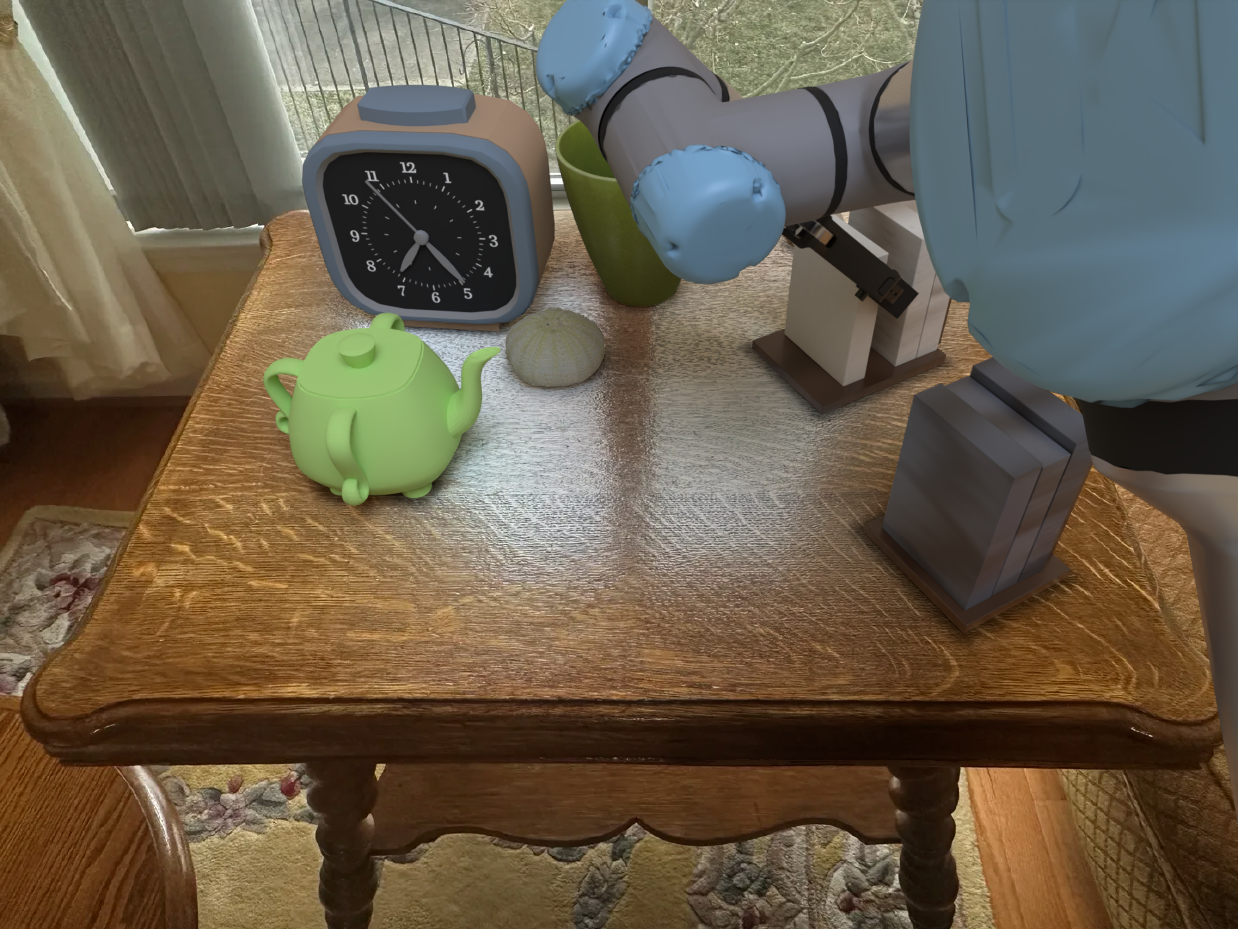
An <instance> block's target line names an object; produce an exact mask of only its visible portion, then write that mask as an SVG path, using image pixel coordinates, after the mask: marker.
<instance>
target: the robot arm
mask: <svg viewBox="0 0 1238 929" xmlns="http://www.w3.org/2000/svg"><path fill="white" fill-rule="evenodd" d="M915 37H916V38H915V42H914V50H913V59H911V60H907V61H904V62H901V63H899V64H897V65H893V66H892V67H889V68H886V69H883V70H880V71H877V72H874V73H869V74H865V75H860V76H856V77H851V78H847V79H842V80H838V81H833V82H828V83H824V84H818V85H814V86H810V85H809V86H803V87H798V88H794V89H789V90H783V91H778V92H772V93H766V94H761V95H756V96H750V97H745V98H744V97H743V95H741V94H740V93H739V92H738V91H737V90H735V88H734V87H733V86H731V85H730V84H729V83H728V82H727V81H726V80H725V79H724V78H723V77H721V76H720V75H719V74H717V73H715V72H713V71H712V70H711V69H710V68H709V67H707V65H706V64H704V63H703V62H702V61H701V60H700V59H699V58H698V57H697V56H696V55H695V54H694V53H693V52H692V51H690V49H689V48H687V47H686V46H685V45H684V43H683V42H681V41H680V40H679V38H677V37H676V36H675V35H674V34H673V33H672V32H671V31H670V30H669V29H668V28H667V27H666V26H664V24H662V23H661V21H659V20H658V19H657V18H656V17H655V16H654V14H653V12H652V10H651V9H650V8H649V7H648V6H647V5H642V4H641V3H640V2H638V1H637V0H565V1H564V2H563V4H562V5H561V6H560V8H559V9H558V10H557V11H556V13H555V14H554V15H552V17H551V18H550V19H549V22H548V23H547V25H546V27H545V28H544V31H543V33H542V35H541V37H540V41H539V44H538V47H537V52H536V56H535V76H536V79H537V83H538V85H539V87H540V89H541V90H542V91H543V93H545V94H546V95H547V97H549V99H551V100H552V101H554V102H555V103H556V104H557V105H558V106H559V107H560V108H561V110H562V112H563V113H564V114H565V115H567V116H570V117H574V118H575V119H576V120H580V121H581V122H582V123H583V124H584V125H585V126H586V127H587V129H588V130H589V131H590V133H591V135H592V137H593V139H594V141H595V143H596V144H597V146H598V148H599V150H600V152H601V154H602V155H603V157H604V159H605V160H606V162H607V163H608V164H609V166H610V168H611V170H612V173H613V175H614V177H615V179H616V181H617V183H618V185H619V187H620V189H621V191H622V193H623V195H624V197H625V199H626V201H627V203H628V205H629V207H630V209H631V211H632V216H633V219H634V221H636V223H637V226H638V228H639V230H640V231H641V232H642V234H643V235H644V237H646V238H647V239H648V240H649V242H650V243H651V245H652V247H653V248H654V250H655V251H656V253H657V254H658V256H659V258H660V259H661V261H662V262H663V264H664V265H665V267H666V268H667V269H668V270H669V271H671V272H672V273H673V274H674V275H676V276H677V277H679V278H681V280H683V281H685V282H688V283H691V284H695V285H696V284H698V285H715V284H722V283H725V282H726V283H727V282H729V281H732V280H735V279H737V278H738V277H739V275H740V273H741V272H742V271H744V270H746V269H747V268H749V267H751V268H753V267H755V268H756V267H757V266H758V265H759V264H762V262H763V261H764V260H765V259H767V257H768V256H769V255H770V254H771V253H772V251H773V250H774V249H775V248H776V246H777V244H778V242H779V241H780V239H781V237H782V236H783V237H784V238H786V239H787V241H788V240H789V242H790V241H791V242H792V243H793V244H795V245H796V246H797V247H798V248H800V249H804V248H811V249H812V250H813V251H815V252H816V253H817V254H818V255H820V256H821V257H822V258H823V259H825V260H826V261H827V262H829V263H830V264H831V265H832V266H834V267H835V268H836V269H837V270H839V271H840V272H841V273H843V274H844V275H845V276H846V277H848V278H849V279H850V280H851V281H853V282H854V283H855V284H857V285H856V287H857V288H858V289H859V290H858V291H857V292H856V293H855V296H856V297H857V298H858V299H860V300H861V301H862V302H863V301H864V300H865V299H866V297H867V296H869V297H870V298H871V299H872V300H874V301H875V302H876V303H877V304H879V305H880V306H881V307H883V308H884V309H885V310H886V311H888V312H889V313H890V314H891V315H893V316H894V317H895V318H897V319H898V318H899V317H900V315H901V314H902V313H903V312H904V311H905V309H906V308H907V307H908V306H909V305H910V304H911V302H912V301H913V300H914V299H915V298H916V296H917V295H918V294H919V293H918V292H917V291H916V290H915V289H913V288H912V287H911V286H910V285H909V284H908V283H906V282H905V281H904V280H903V279H902V278H901V277H900V275H899V273H898V272H897V271H896V270H895V269H891V268H890V267H888V266H887V264H885V263H884V262H883V261H881V260H880V259H879V258H877V257H876V256H875V255H874V254H873V253H871V252H870V251H869V250H868V249H867V248H865V247H864V246H863V245H862V244H861V243H859V242H858V241H857V240H856V239H855V238H853V237H852V236H851V235H850V234H849V233H847V232H846V231H845V230H844V229H843V228H842V227H840V226H839V225H838V224H837V223H836V222H835V221H834V220H832V216H831V215H834V214H839V213H841V214H845V213H848V212H849V213H850V211H854V210H859V209H865V208H870V207H875V206H880V205H885V204H890V203H896V202H903V201H911V200H916V205H917V210H918V215H919V220H920V224H921V228H922V231H923V235H924V239H925V243H926V247H927V250H928V253H929V256H930V259H931V262H932V265H933V268H934V270H935V272H936V274H937V276H938V278H939V281H940V283H941V285H942V287H943V289H944V291H945V293H946V294H947V295H948V296H949V297H950V298H951V299H952V300H953V301H955V302H956V303H969V306H968V307H969V308H968V314H967V328H968V333H969V334H970V335H971V336H972V338H973V339H974V340H975V341H976V342H977V343H978V345H980V347H981V348H982V349H983V350H984V351H986V352H987V354H988V355H990V356H991V357H993V358H994V359H995V360H997V361H998V362H999V363H1000V364H1001V365H1002V366H1004V367H1005V368H1006V369H1008V370H1009V371H1011V372H1012V373H1014V374H1015V375H1016V376H1018V377H1020V378H1022V379H1024V380H1026V381H1028V382H1030V383H1032V384H1034V385H1036V386H1037V387H1039V388H1042V389H1045V390H1048V391H1050V392H1052V393H1053V394H1056V395H1060V396H1065V397H1070V398H1074V399H1077V400H1079V404H1080V408H1081V414H1082V415H1083V420H1084V425H1085V431H1086V436H1087V441H1088V447H1089V452H1090V456H1091V460H1092V463H1093V467H1094V470H1096V471H1097V472H1098V473H1099V474H1101V475H1103V477H1106V478H1107V479H1109V480H1110V481H1112V482H1113V483H1115V484H1116V485H1118V486H1120V487H1121V488H1123V489H1124V490H1126V491H1128V492H1129V493H1131V494H1132V495H1134V496H1135V497H1137V498H1138V499H1139V500H1142V501H1143V502H1144V503H1146V504H1148V505H1149V506H1150V507H1152V508H1154V509H1155V510H1156V511H1159V512H1160V513H1162V514H1163V515H1165V516H1166V517H1168V518H1169V519H1171V520H1173V522H1176V523H1177V524H1178V525H1179V526H1180V528H1181V529H1182V531H1183V532H1184V533H1185V534H1186V538H1187V545H1188V549H1189V555H1190V560H1191V567H1192V571H1193V572H1192V573H1193V577H1194V583H1195V590H1196V594H1197V600H1198V606H1199V612H1200V618H1201V623H1202V628H1203V634H1204V640H1205V645H1206V651H1207V656H1208V662H1209V667H1210V668H1209V669H1210V674H1211V679H1212V686H1213V691H1214V695H1215V696H1214V697H1215V704H1216V708H1217V713H1218V719H1219V724H1220V731H1221V734H1222V735H1221V736H1222V742H1223V749H1224V754H1225V759H1226V764H1227V770H1228V775H1229V782H1230V786H1231V792H1232V798H1233V804H1234V809H1235V816H1236V820H1237V822H1238V0H922V4H921V8H920V14H919V20H918V25H917V30H916V36H915ZM800 226H801V227H802V230H801V231H800V232H799V233H798V234H797V235H795V234H796V230H797V229H799V228H800ZM791 242H790V243H791ZM792 243H791V244H792ZM793 244H792V245H793Z"/></svg>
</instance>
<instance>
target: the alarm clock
mask: <svg viewBox="0 0 1238 929" xmlns="http://www.w3.org/2000/svg"><path fill="white" fill-rule="evenodd" d="M548 154H549V153H548V149H547V144H546V141H545V138H544V135H543V133H542V131H541V129H540V127H539V124H538V123H537V122H536V121H535V120H534V118H533V117H532V115H531V114H530V113H529V112H528V111H527V110H525V108H522V107H521V106H519V105H518V104H517V103H515V102H513V101H512V100H510V99H506V98H501V97H495V96H491V95H485V94H479V93H475V92H474V91H472V89H468V88H463V87H456V86H448V85H440V84H439V85H437V84H436V85H435V84H394V85H393V84H391V85H382V86H372V87H371V86H370V87H369V88H368V90H367V91H366V92H365V94H362V95H357V96H356V97H354V98H353V99H352V100H351V101H349V102H347V103H346V104H345V105H344V106H343V108H342V109H341V110H340V111H339V113H338V114H337V115H336V117H334V119H333V120H332V121H331V123H330V124H329V125H328V127H327V128H326V129H325V130H324V131H323V133H322V134H321V135H320V137H319V138H318V139H317V140H316V141H315V143H314V144H313V145H312V146H311V148H310V149H309V151H308V153H307V155H306V156H305V158H304V161H303V163H302V169H301V170H302V172H301V185H302V190H303V195H304V199H305V202H306V207H307V209H308V213H309V215H310V220H311V223H312V226H313V230H314V233H315V236H316V239H317V242H318V246H319V249H320V253H321V256H322V259H323V262H324V265H325V269H326V270H327V273H328V276H329V278H330V280H331V282H332V284H333V285H334V286H335V288H336V289H337V291H338V292H339V294H340V295H341V296H342V297H343V298H344V299H345V300H346V301H347V302H348V303H349V304H350V305H352V306H353V307H355V308H357V309H359V310H361V311H363V312H364V313H366V314H368V315H373V316H377V315H379V314H381V313H393V314H397V315H398V316H400V317H401V319H402V320H403V323H404V327H417V328H430V329H449V330H464V331H465V330H466V331H467V330H468V331H485V332H501V329H502V326H503V323H510V322H512V321H514V320H516V319H518V318H520V317H521V316H523V315H525V314H526V312H527V311H528V310H529V309H530V307H531V306H532V305H533V303H534V301H535V299H536V295H537V292H538V290H539V287H540V283H541V281H542V278H543V275H544V273H545V271H546V270H545V269H546V267H547V264H548V261H549V258H550V255H551V253H552V250H553V246H554V243H555V238H556V237H555V236H556V224H555V213H554V212H555V211H554V202H553V192H552V182H551V181H552V180H551V172H550V171H551V170H550V160H549V155H548Z"/></svg>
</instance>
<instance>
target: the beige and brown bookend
mask: <svg viewBox="0 0 1238 929" xmlns="http://www.w3.org/2000/svg"><path fill="white" fill-rule="evenodd" d="M847 224H848V225H850V226H851V227H853V228H854V229H855V230H857V231H858V232H860V233H861V234H862V235H864V236H865V237H867V238H868V239H869V240H871V241H872V242H874V243H875V244H876V245H878V246H879V247H881V248H882V249H883V250H885V251H886V252H888V259H887V266H888V267H890V268H891V269H895V270H896V271H897V272H898V273H899V275H900V277H901V278H902V279H903V280H904V281H905V282H906V283H908V284H909V285H910V286H911V287H912V288H913V289H915V290H916V291H917V292H918V293H919V294H918V295H917V296H916V298H915V299H914V300H913V301H912V302H911V304H910V305H909V306H908V307H907V308H906V309H905V311H904V312H903V313H902V314H901V315H900V317H899V318H898V319H897V318H895V317H894V316H893V315H891V314H890V313H889V312H888V311H886V310H885V309H884V308H883V307H881V306H880V305H878V310H877V316H876V321H875V326H874V331H873V336H872V341H871V346H870V351H869V356H868V362H867V367H866V372H865V377H864V378H863V379H860V380H858V381H856V382H853V383H851V384H848V385H846V386H842V385H841V384H840V383H839V382H838V381H836V380H835V379H834V378H833V377H832V376H831V375H830V374H829V373H828V372H826V371H825V370H824V369H823V368H822V367H821V366H820V365H819V364H817V363H816V362H815V361H814V360H813V359H812V358H811V357H810V356H809V355H807V354H806V353H805V352H804V351H803V350H802V349H801V348H800V347H798V346H797V345H796V344H795V343H794V342H793V341H792V340H791V339H790V338H788V337H787V336H786V335H785V334H784V332H785V327H784V328H781V329H778V330H776V331H773V332H771V333H768V334H766V335H763V336H760V337H758V338H755V339H752V340H751V350H752V351H754V353H755V354H756V355H758V356H759V357H760V358H761V359H762V360H763V361H764V362H765V363H766V364H767V365H768V366H769V367H771V368H772V369H773V371H774V372H776V373H777V374H778V375H779V376H780V377H781V378H782V379H783V380H784V381H785V382H787V384H789V385H790V386H791V387H792V388H793V389H794V390H795V391H796V392H797V393H798V394H800V396H802V397H803V398H804V400H806V401H807V403H809V404H810V405H811V406H812V407H813V408H814V409H815V410H816V411H817V412H818V413H820V415H825V414H827V413H829V412H831V411H834V410H836V409H839V408H841V407H843V406H845V405H848V404H850V403H852V402H855V401H857V400H860V399H862V398H865V397H867V396H870V395H872V394H874V393H877V392H879V391H881V390H884V389H886V388H889V387H891V386H893V385H896V384H898V383H900V382H903V381H905V380H907V379H909V378H912V377H914V376H916V375H919V374H922V373H924V372H926V371H929V370H931V369H934V368H936V367H938V366H941V365H943V364H944V363H945V362H946V358H947V354H946V353H945V352H944V351H943V350H941V349H940V348H938V346H939V345H941V344H942V339H943V335H944V331H945V327H946V324H947V323H946V322H947V319H948V315H949V312H950V309H951V305H952V304H951V303H952V300H953V299H951V298H950V297H949V296H948V295H947V294H946V293H945V291H944V289H943V287H942V285H941V283H940V281H939V278H938V276H937V274H936V272H935V270H934V268H933V265H932V262H931V259H930V256H929V253H928V250H927V247H926V243H925V239H924V235H923V231H922V228H921V224H920V220H919V215H918V210H917V205H916V200H911V201H903V202H896V203H890V204H885V205H880V206H875V207H870V208H865V209H859V210H854V211H849V213H848V220H847Z"/></svg>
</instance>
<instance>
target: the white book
mask: <svg viewBox="0 0 1238 929" xmlns="http://www.w3.org/2000/svg"><path fill="white" fill-rule="evenodd" d="M831 216H832V220H834V221H835V222H836V223H837V224H838V225H839V226H840V227H842V228H843V229H844V230H845V231H846V232H847V233H849V234H850V235H851V236H852V237H853V238H855V239H856V240H857V241H858V242H859V243H861V244H862V245H863V246H864V247H865V248H867V249H868V250H869V251H870V252H871V253H873V254H874V255H875V256H876V257H877V258H879V259H880V260H881V261H883V262H884V263H885V264H887V259H888V252H886V251H885V250H883V249H882V248H881V247H879V246H878V245H876V244H875V243H874V242H872V241H871V240H869V239H868V238H867V237H865V236H864V235H862V234H861V233H860V232H858V231H857V230H855V229H854V228H853V227H851V226H850V225H848V222H847V221H845V220H844V221H843V220H841V219H840V218H839V217H837V216H836V215H835V214H834V215H831ZM801 230H802V227H801V226H800V228H799V229H797V230H796V234H795V235H797V234H798V233H799V232H800V231H801ZM856 285H857V284H855V283H854V282H853V281H851V280H850V279H849V278H848V277H846V276H845V275H844V274H843V273H841V272H840V271H839V270H837V269H836V268H835V267H834V266H832V265H831V264H830V263H829V262H827V261H826V260H825V259H823V258H822V257H821V256H820V255H818V254H817V253H816V252H815V251H813V250H812V249H811V248H804V249H800V248H798V247H797V246H796V245H795V244H794V245H793V253H792V262H791V271H790V279H789V289H788V297H787V306H786V314H785V315H786V316H785V322H784V323H785V324H784V328H785V332H784V334H785V335H786V336H787V337H788V338H790V339H791V340H792V341H793V342H794V343H795V344H796V345H797V346H798V347H800V348H801V349H802V350H803V351H804V352H805V353H806V354H807V355H809V356H810V357H811V358H812V359H813V360H814V361H815V362H816V363H817V364H819V365H820V366H821V367H822V368H823V369H824V370H825V371H826V372H828V373H829V374H830V375H831V376H832V377H833V378H834V379H835V380H836V381H838V382H839V383H840V384H841V385H842V386H846V385H848V384H851V383H853V382H856V381H858V380H860V379H863V378H864V377H865V372H866V367H867V362H868V356H869V351H870V346H871V341H872V336H873V331H874V326H875V321H876V316H877V310H878V305H879V304H877V303H876V302H875V301H874V300H872V299H871V298H870V297H869V296H867V297H866V299H865V300H864V301H863V302H862V301H861V300H860V299H858V298H857V297H856V296H855V293H856V292H857V291H858V290H859V289H858V288H857V287H856Z"/></svg>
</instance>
